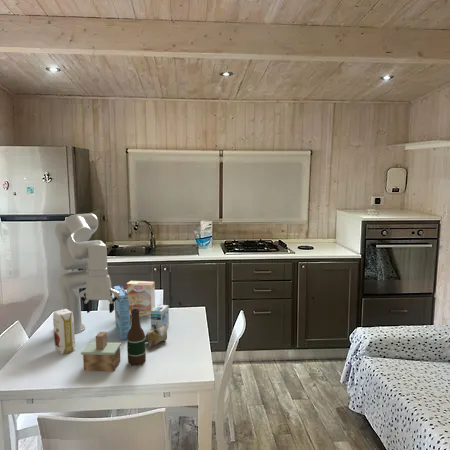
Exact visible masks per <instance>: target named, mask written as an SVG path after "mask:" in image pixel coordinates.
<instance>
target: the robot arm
mask: <svg viewBox="0 0 450 450" xmlns="http://www.w3.org/2000/svg"><path fill="white" fill-rule="evenodd" d="M98 227H99V219H98V217H97V215H96V214H94V213H92V212H90V213H75V214H71V215H70V216H68V217H67V218H66V220H65V221H60V222H57V223H56V224H55V226H54V233H55V236H56V239H57V241H58V244H59V257H60V259H59V260H60V261H59V262H60V268H62V269H61V270H65V272H63V273H60V275H58V278H57V283H58V287H59V293H60V305H61V310H63V309H68V310H69V311H71V312H73V317H74V335H75V334H79V333H82V332H83V331H84V330H85V328H86V327H85V325H84V324H83V323H82V305H81V304H82V303H81V301H83V302H84V303H83V304H85V311H86V314H88V313H90V312H91V311H92V302H91V301H108V302H109V304H108V310H109V313H110V314H112V313H113V312H114V311H115V301H116V300H117V299H118V297H119V295H120V292H118V291H116V290H114V288H113V287H112V280H111V277H110V274H109V272H108V270H109V269H108V253H107V252H108V251H107V249H108V248H107V244H105V242H103V241H102V240H99V239H95V240H94V239H93V240H90V239H91V238H92V235H93V234H94V233H96V231H97V230H98ZM79 269H81V270H79ZM72 270H73V271H72ZM78 289H84V290H81V291H80V292H79V293H78V292H77V291H76V290H78ZM114 294H115V298H114V296H113V295H114Z"/></svg>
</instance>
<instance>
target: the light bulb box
mask: <svg viewBox="0 0 450 450" xmlns="http://www.w3.org/2000/svg"><path fill="white" fill-rule="evenodd" d="M169 310H170V308H169V305H168V304H155V307H154V308H153V309H152V310H151V317H150V328H151V329H150V330H152V329H153V328H154V327H158V328H161V327H163V326H165V325H166V327H168V326H169V324H170V316H169V315H170V313H169Z"/></svg>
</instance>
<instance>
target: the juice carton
mask: <svg viewBox="0 0 450 450" xmlns="http://www.w3.org/2000/svg"><path fill="white" fill-rule="evenodd" d="M52 317H53V318H52V321H53V322H52V325H53V338H54V347H55V350H56V352H58V353H59V354H61V355H65V354H68V353H71V352H74V351H75V349H76V341H75V339H76V337H75V334H74V317H73V312H71V311H69V310H68V309H63V310H62V309H59V310H55V311H53V316H52Z"/></svg>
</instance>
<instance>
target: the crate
mask: <svg viewBox="0 0 450 450" xmlns="http://www.w3.org/2000/svg"><path fill="white" fill-rule="evenodd" d="M82 359H83V360H82V362H83V371H84V372H115V371H116V369H117V368H118V366H119V365H120V363H121V346H120V347H119V349H118V350H117V352H116V353H115V355H83V354H82Z"/></svg>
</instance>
